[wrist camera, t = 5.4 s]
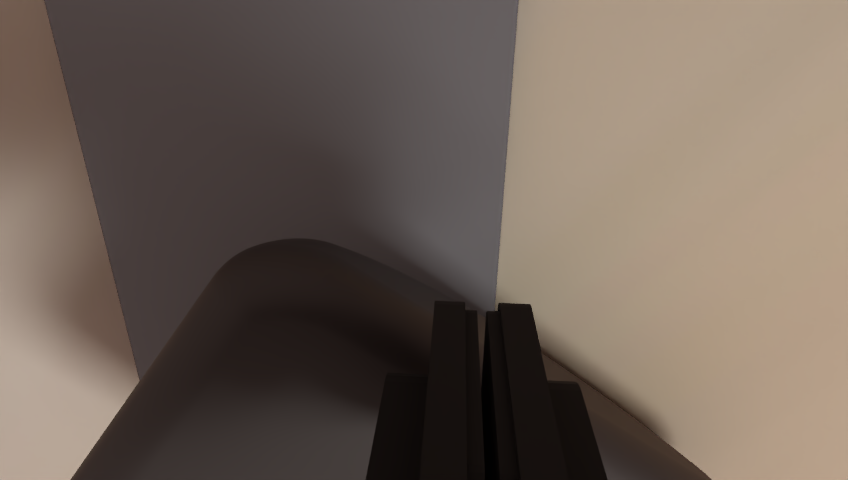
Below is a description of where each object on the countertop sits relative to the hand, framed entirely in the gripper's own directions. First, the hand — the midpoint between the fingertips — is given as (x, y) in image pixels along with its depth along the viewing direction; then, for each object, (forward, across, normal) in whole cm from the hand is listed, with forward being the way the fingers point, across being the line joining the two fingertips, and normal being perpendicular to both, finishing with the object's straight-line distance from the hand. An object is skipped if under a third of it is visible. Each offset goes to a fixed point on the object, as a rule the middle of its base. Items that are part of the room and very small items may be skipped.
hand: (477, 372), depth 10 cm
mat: (+6, +5, 0) cm, 8 cm away
